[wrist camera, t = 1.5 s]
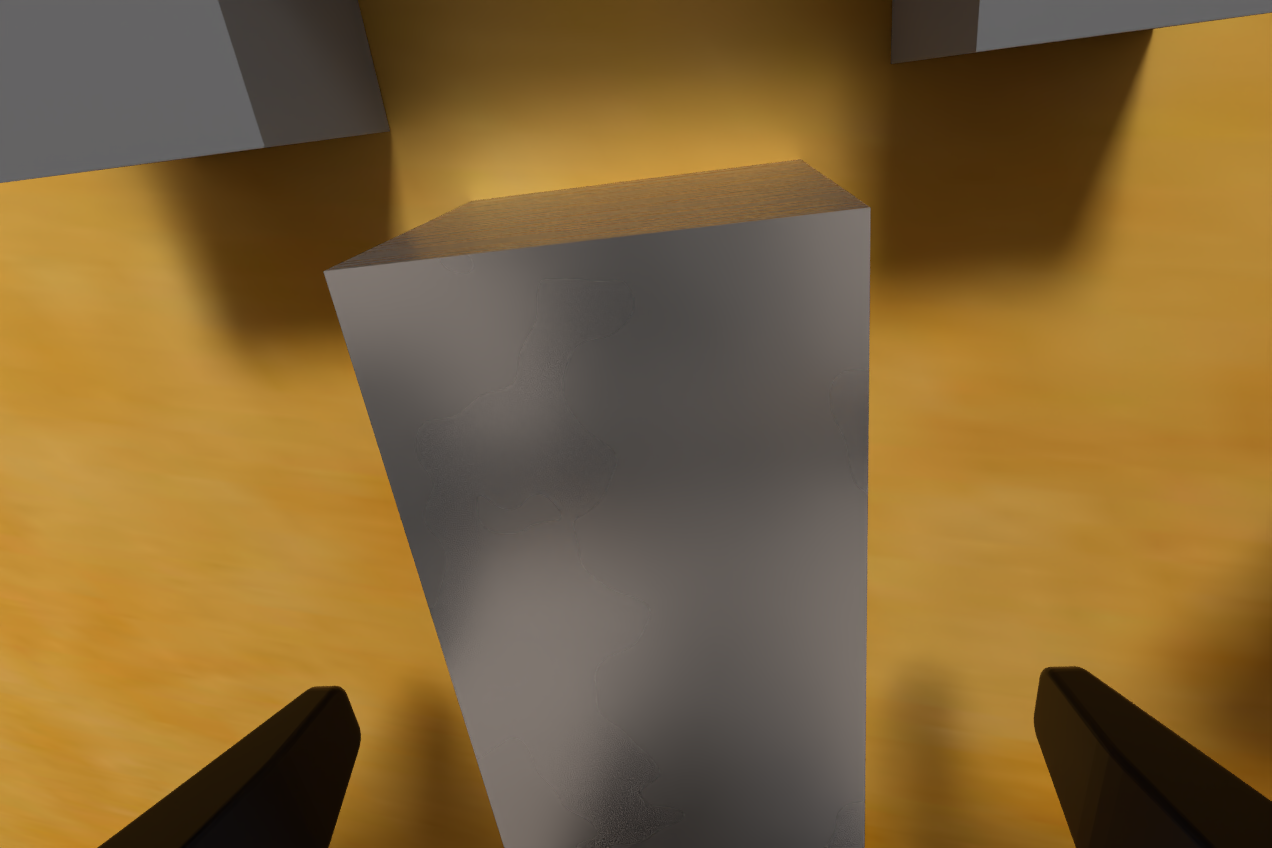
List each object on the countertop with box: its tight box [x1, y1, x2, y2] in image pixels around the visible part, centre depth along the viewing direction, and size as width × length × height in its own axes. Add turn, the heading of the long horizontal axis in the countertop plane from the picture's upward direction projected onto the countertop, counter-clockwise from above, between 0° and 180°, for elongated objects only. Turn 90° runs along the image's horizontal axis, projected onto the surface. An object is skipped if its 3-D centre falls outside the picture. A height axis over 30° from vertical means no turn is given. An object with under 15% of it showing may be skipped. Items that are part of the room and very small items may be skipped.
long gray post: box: [323, 159, 871, 848], centre depth 10 cm, size 12×4×4 cm, turn 7°
